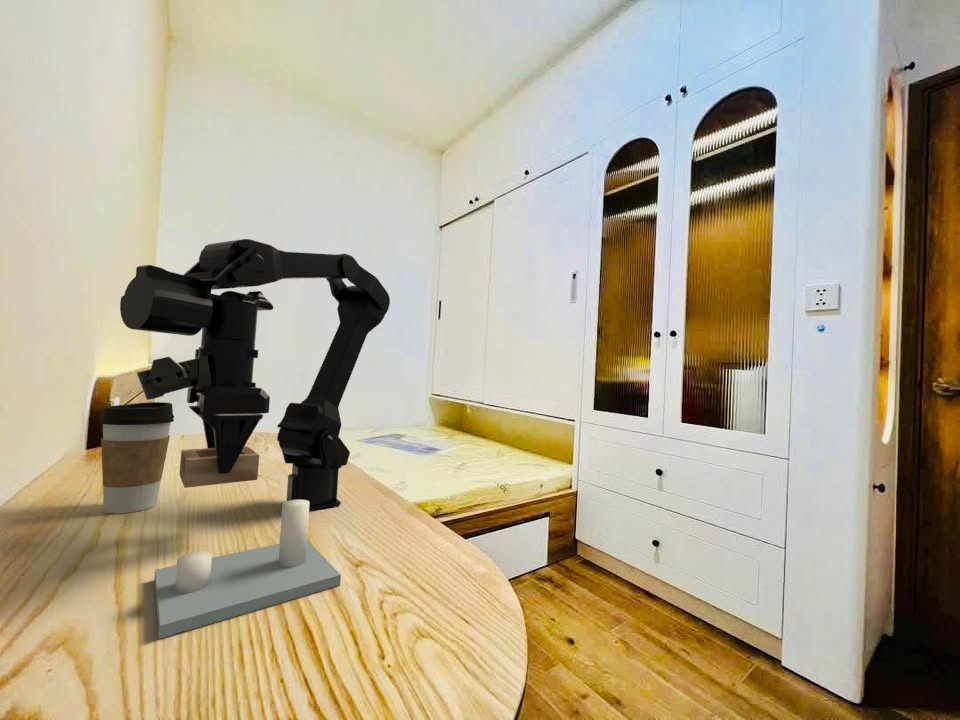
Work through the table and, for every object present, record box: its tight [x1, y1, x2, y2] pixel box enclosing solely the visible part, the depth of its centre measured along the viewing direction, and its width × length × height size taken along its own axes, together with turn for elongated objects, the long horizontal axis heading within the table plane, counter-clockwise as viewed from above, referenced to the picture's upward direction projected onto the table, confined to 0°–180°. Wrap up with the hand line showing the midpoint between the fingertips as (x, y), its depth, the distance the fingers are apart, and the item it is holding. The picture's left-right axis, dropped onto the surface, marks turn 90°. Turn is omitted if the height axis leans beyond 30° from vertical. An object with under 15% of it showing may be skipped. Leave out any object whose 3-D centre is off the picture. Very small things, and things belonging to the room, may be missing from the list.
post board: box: [154, 500, 342, 640], centre depth 40 cm, size 14×11×7 cm
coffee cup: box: [99, 401, 175, 515], centre depth 59 cm, size 8×8×15 cm
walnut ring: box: [179, 445, 260, 489], centre depth 50 cm, size 7×7×3 cm
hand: (219, 466), depth 50 cm, fingers closed on walnut ring, 7 cm apart
